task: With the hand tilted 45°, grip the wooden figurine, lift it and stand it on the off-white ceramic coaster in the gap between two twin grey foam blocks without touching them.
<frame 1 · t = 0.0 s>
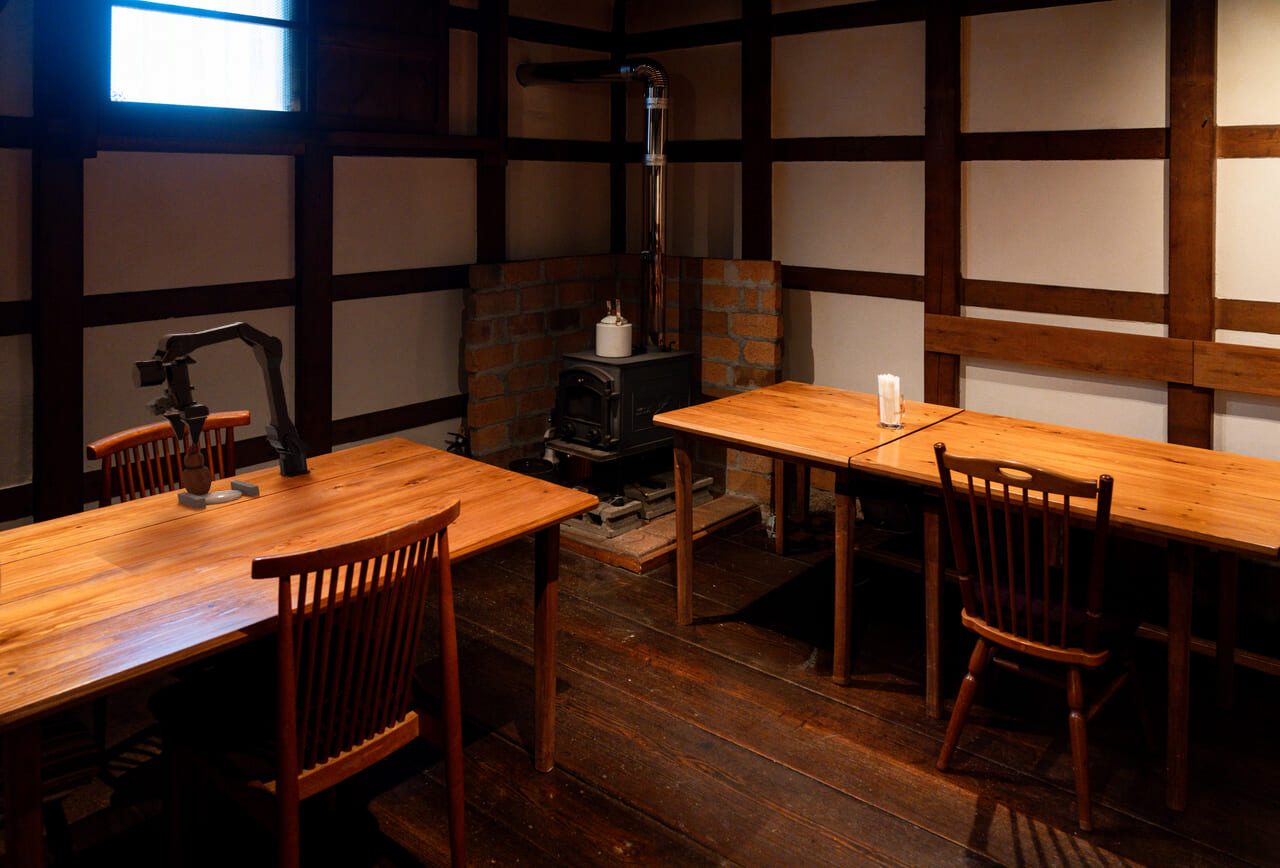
hand: (187, 441, 257), 15 cm above the table, tool pointing down, fingers open, 9 cm apart
coaster: (219, 498, 255), on the table
wooden figurine: (199, 495, 262), on the table
twin grey foam blocks: (219, 498, 255), on the table
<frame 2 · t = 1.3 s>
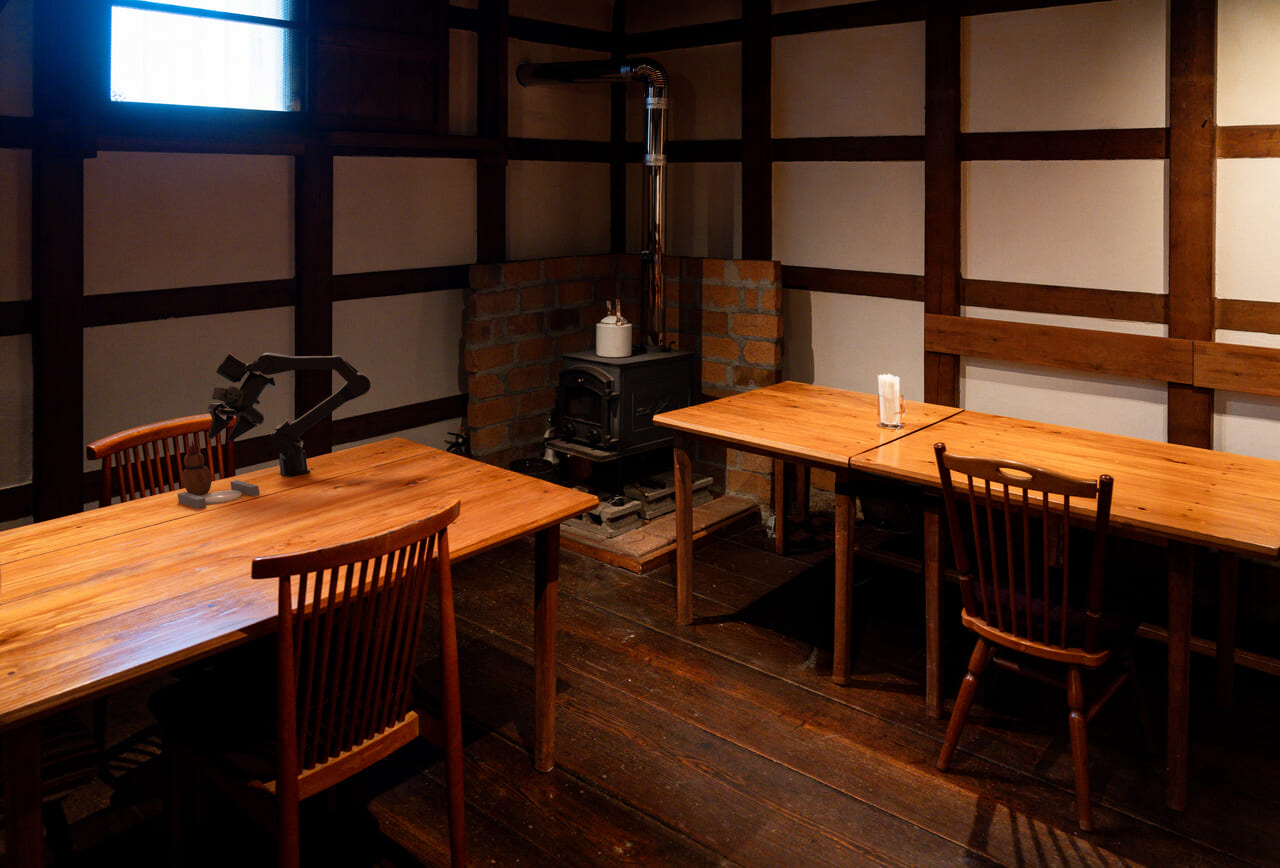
hand: (219, 439, 265), 13 cm above the table, tool tilted 45°, fingers open, 9 cm apart
nothing on the table moved.
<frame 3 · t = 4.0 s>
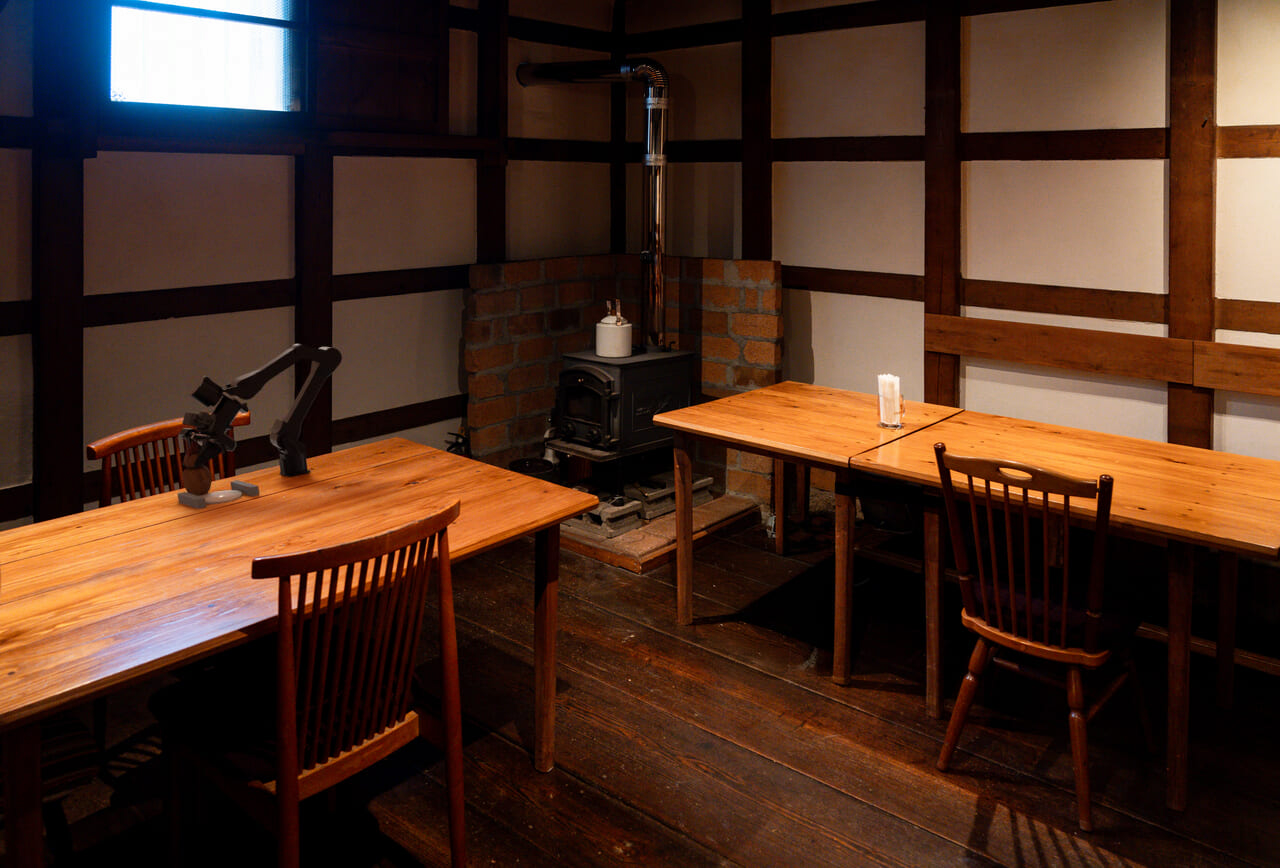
hand: (189, 465, 259), 8 cm above the table, tool tilted 45°, fingers closed on wooden figurine, 5 cm apart
wooden figurine: (199, 495, 262), on the table, touching gripper
when the fingers open (9 cm above the table, at t = 7.3 s): wooden figurine stays where it is, resting on coaster.
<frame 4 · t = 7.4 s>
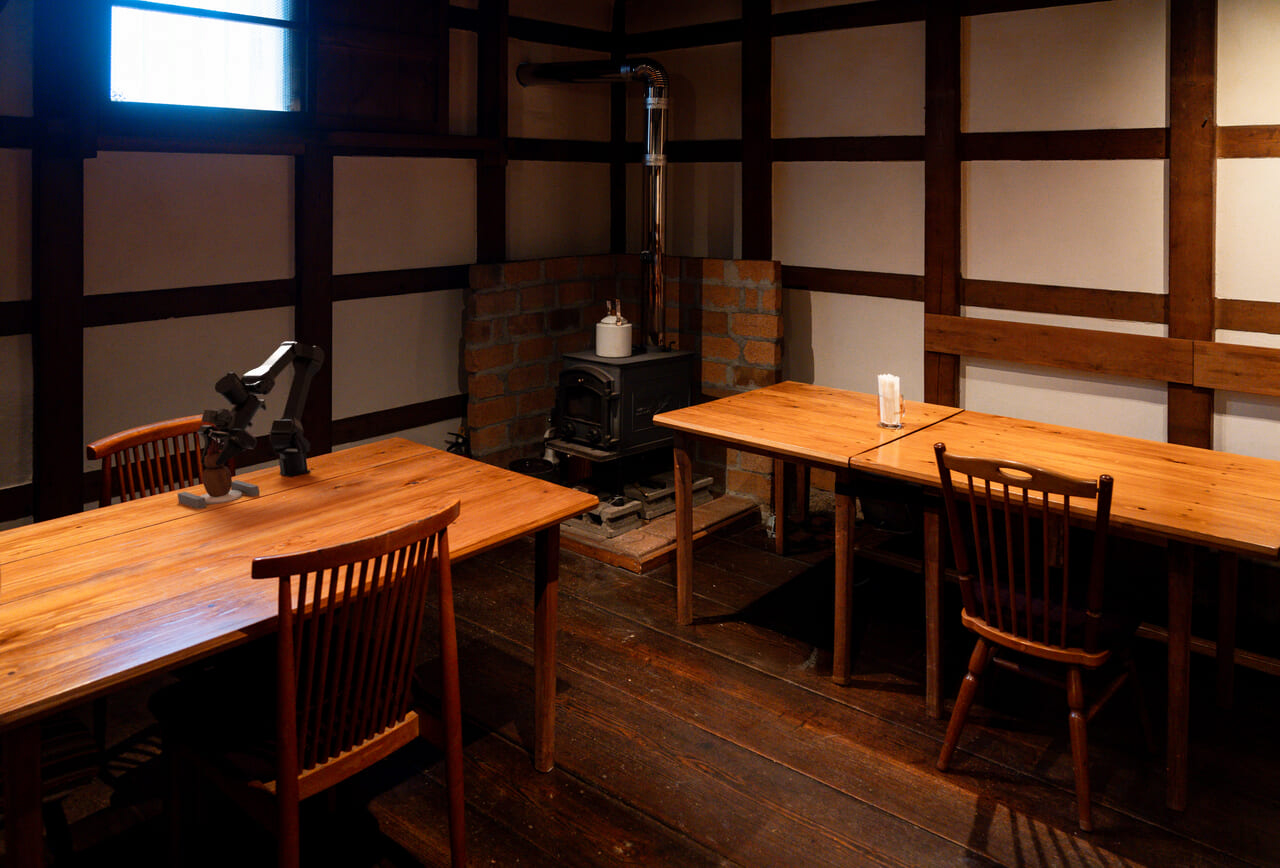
hand: (209, 464, 252), 10 cm above the table, tool tilted 45°, fingers open, 6 cm apart
wooden figurine: (219, 496, 256), point 1 cm above the table, touching coaster
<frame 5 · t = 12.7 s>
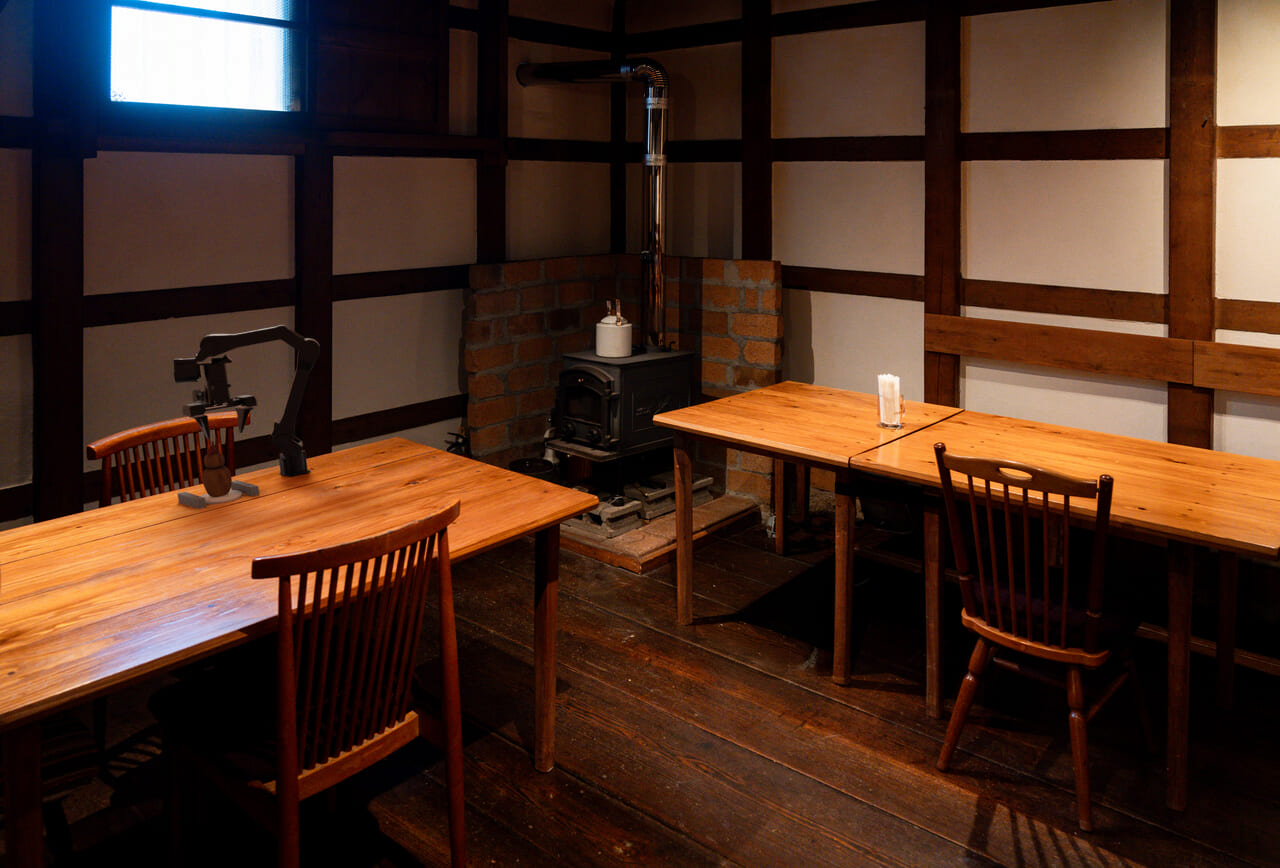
hand: (224, 436, 272), 13 cm above the table, tool pointing down, fingers open, 9 cm apart
nothing on the table moved.
at the end: wooden figurine 0.3 cm off-centre on the coaster, point 0.6 cm above the coaster's base; wooden figurine tilted 0°; wooden figurine touching coaster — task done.
